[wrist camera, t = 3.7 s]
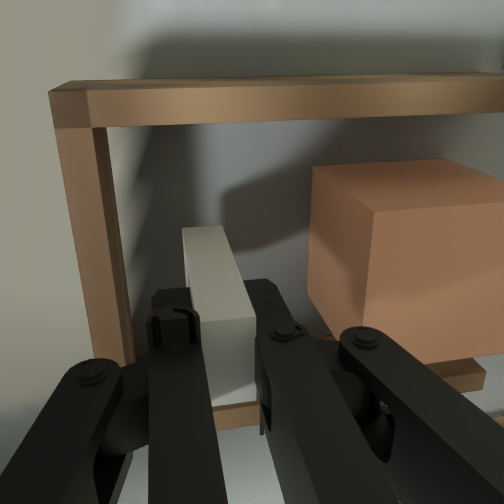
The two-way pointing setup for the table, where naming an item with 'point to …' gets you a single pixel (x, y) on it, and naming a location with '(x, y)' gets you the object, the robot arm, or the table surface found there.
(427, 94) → the walnut stall
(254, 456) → the table surface
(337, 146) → the table surface
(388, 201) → the terracotta block
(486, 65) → the table surface
